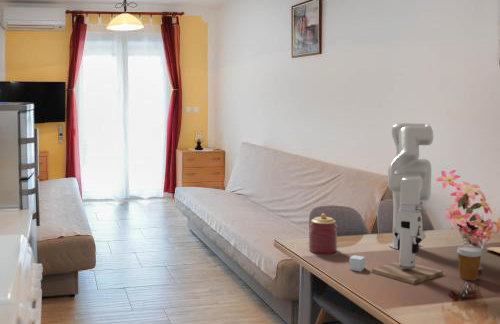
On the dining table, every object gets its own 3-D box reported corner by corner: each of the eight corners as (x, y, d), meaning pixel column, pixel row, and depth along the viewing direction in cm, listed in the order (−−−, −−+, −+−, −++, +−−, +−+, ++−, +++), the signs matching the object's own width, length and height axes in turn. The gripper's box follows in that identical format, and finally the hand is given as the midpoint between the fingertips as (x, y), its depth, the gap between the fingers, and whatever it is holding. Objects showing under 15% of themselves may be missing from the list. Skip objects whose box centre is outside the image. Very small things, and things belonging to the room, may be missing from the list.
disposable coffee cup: (478, 283, 230) (479, 253, 228) (453, 279, 235) (454, 249, 233) (483, 276, 238) (484, 247, 236) (458, 273, 243) (460, 244, 241)
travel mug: (416, 269, 238) (418, 220, 236) (399, 268, 239) (401, 220, 237) (415, 265, 244) (417, 217, 242) (398, 264, 246) (400, 216, 243)
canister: (324, 256, 267) (324, 217, 265) (303, 250, 277) (303, 213, 275) (342, 251, 276) (343, 213, 274) (321, 245, 286) (322, 209, 284)
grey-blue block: (353, 266, 251) (353, 255, 251) (364, 268, 249) (365, 256, 248) (349, 269, 247) (349, 257, 247) (360, 271, 245) (360, 259, 244)
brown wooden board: (401, 263, 256) (401, 260, 256) (442, 274, 241) (442, 270, 240) (371, 272, 243) (372, 268, 243) (413, 284, 228) (413, 280, 228)
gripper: (433, 209, 235) (431, 254, 237) (397, 203, 248) (395, 245, 250) (422, 212, 230) (420, 257, 232) (386, 205, 243) (384, 248, 245)
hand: (407, 250), depth 241 cm, fingers closed on travel mug, 6 cm apart
